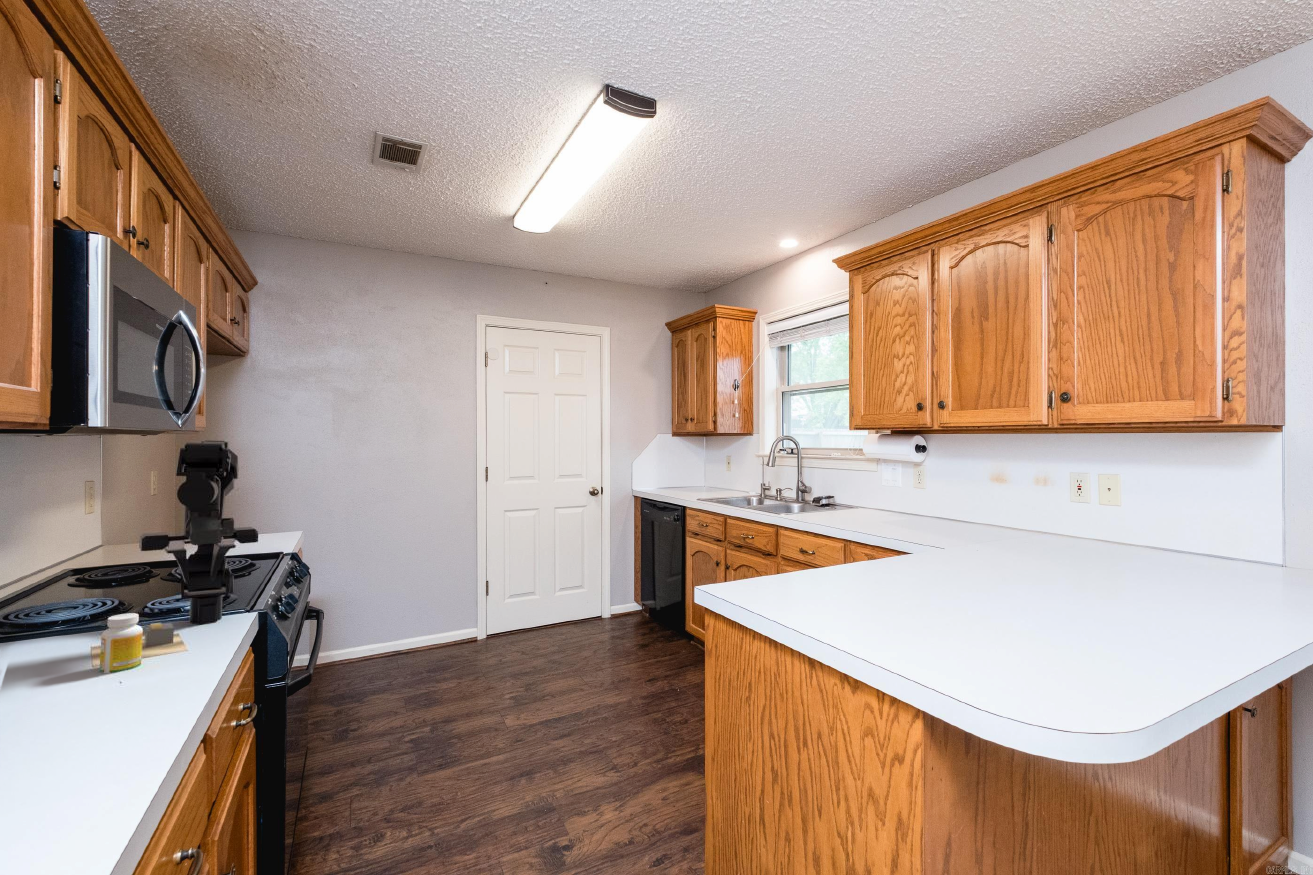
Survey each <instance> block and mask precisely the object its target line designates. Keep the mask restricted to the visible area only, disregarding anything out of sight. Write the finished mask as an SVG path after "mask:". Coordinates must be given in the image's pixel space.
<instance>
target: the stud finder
mask: <svg viewBox="0 0 1313 875" xmlns="http://www.w3.org/2000/svg"><path fill="white" fill-rule="evenodd" d="M174 634H175V627H174V625H173V623H171V622H170V623H164V624H162V622H157V623H156V622H154V623H150V625H149V626H145V627H144V639H145V645H146V647H152V646H158V645H164V644H170V643H173V636H174Z"/></svg>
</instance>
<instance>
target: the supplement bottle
mask: <svg viewBox="0 0 1313 875" xmlns="http://www.w3.org/2000/svg"><path fill="white" fill-rule="evenodd" d="M139 621H140V620H139V614H138V613H135V612H131V613H127V612H126V613H121V614H115V615H112V616H109V617H108V618H107V624H106V625H107V627H108V628H106V629H105V630H104V631H103V632H102V634H101V635H100V636H101V639H100V646H101V652H100V666H99V672H100V673H103V674H104V673H105V674H110V673H111V674H112V673H113V674H115V673H120V672H125V671H129V670H133V669H135V668H138V667H140V666H141V665H142V659H141V655H142V639H143V632H144V629H143V627H142V626H140V625H138V624H137V623H138V622H139Z"/></svg>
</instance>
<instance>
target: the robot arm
mask: <svg viewBox="0 0 1313 875" xmlns="http://www.w3.org/2000/svg"><path fill="white" fill-rule="evenodd" d="M176 467H177V468H176V473H175V476H176V477H185V481H184V482H182V483H181V484H180V486H178V489H177V490H176V496H177V499H178V501H179V502H180V504H181V505H183V506H184V514H183V533H182V534H181V535H180V534H176V535H169V534H168V533H167V532H152V533H151V532H149V533H148V532H147V533H142V535H140V536H139V542H138V543H139V545H138V546H139V550H140V552H151V551H163V550H164V551H165V552H166V554H172V555H173V557H174V559H175V560H176V562H177V564H178V567H179V570H180V572H181V578H180V591H181V592H180V595H181V596H180V599H181V600H185V599H189V600H190V601H189V620H188V621H189V622H188V623H190V624H193V625H202V626H203V625H208V624H215V623H217V622H218V621H220V620H222V618H223V617H222V616H223V615H222V614H223V596H229V595H231V594H234V585H235V582H234V581H235V580H234V579H235V578H234V573H232V571H231V568H230V567H228V562H227V557H226V554H227V553H228V552H229V551H230V549H231V550H232V549H235V548H236V547H237V546H236V544H235V543H236V541H237V542H238V543H239V544H253V543H254V544H255V543H258V542H259V531H258V530H257V529H256V528H254V527H252V526H243V527H242V526H241V527H235V519H234V517H224V515H225V514H224V513H225V502H226V497H228V495H229V494H230V493H231V492H232V491H233V489H235V480H239V456H238V455H237V454H236V453H235V452H234V451H233V450H231V449H230V447H229V442H228V441H225V440H212V439H211V440H208V439H206V440H204V441H202V440H201V441H200V442H188V441H187V442H185V444H184V446H183V447H180V449H179V456H178V462H177V466H176ZM185 544H186V545H189V544H190V545H193V546H197V547H196V548H197V549H196V550H195V551H194V553H191V554H189V555H188V557H187V549H186V548H185Z"/></svg>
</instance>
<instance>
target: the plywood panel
mask: <svg viewBox="0 0 1313 875" xmlns="http://www.w3.org/2000/svg"><path fill="white" fill-rule="evenodd" d="M90 651H91V661H92V668H96V667H100V652H101V645H95V646H91V647H90ZM187 651H188V648H187V645H186V644H185V643H184V641H183V639H182V636H181V635H180V633H174V636H173V643H170V644H164V645H158V646H152V647H146V645H145V638H142V655H141V660H142V659H143V660H144V659H147V658H153V657H159V656H165V655H171V654H176V653H181V652H187Z"/></svg>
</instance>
